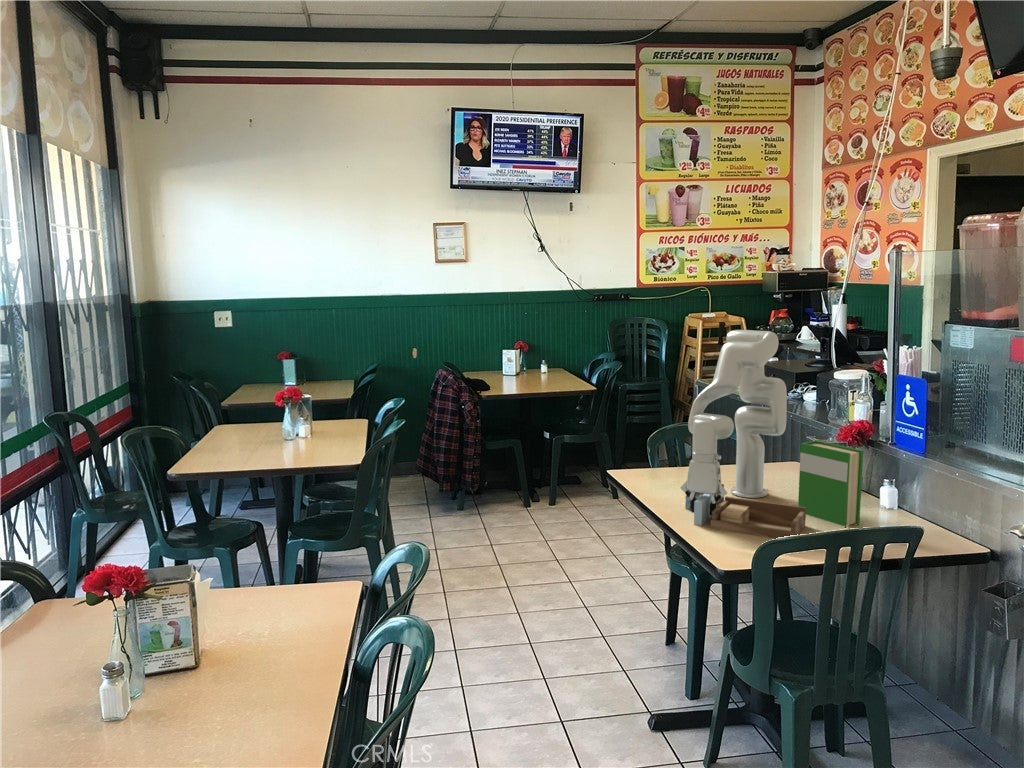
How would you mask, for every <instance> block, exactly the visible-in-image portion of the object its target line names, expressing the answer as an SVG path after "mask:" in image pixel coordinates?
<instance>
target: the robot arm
mask: <svg viewBox="0 0 1024 768" xmlns="http://www.w3.org/2000/svg"><path fill="white" fill-rule="evenodd" d="M779 342H780V341H779V337H778V335H777V333H775V332H773V331H770V330H755V329H754V330H752V329H751V330H750V329H733V330H730V331H729V332H727V334H726V343H724V344H723V345H722V346H721V349H720V352H719V354H718V355H719V356H718V359H717V363H716V366H715V372H714V375H713V379H712V382H710V384H709V385H707V386H706V387H705V388H703V389H702V391H700V393H699V394H698V395H697V396H696V398H695V399H694V400H693V402H692V406H691V409H690V412H689V417H688V422H687V428H688V431H689V433H691V434H692V449H691V450H692V452H691V454H692V455H691V456H692V457H691V458H692V459H691V460H689V464H688V470H687V479H686V481H685V482H684V483H683V484H682V485H681V486H680V489H681V491H683V493H684V494H685V496H688V497H689V500H690V509H692V510H690V511H691V513H692V514H694V501H696V500H697V499H696V494H697V492H698V493H705V494H710V498H711V503H710V515H712V511H713V510H714V509H716V508H717V505H716V502H717V501H718V500H719V499H721V498H722V497H723V496H724V497H726V496H727V494H728V492H727V490H726V488H725V486H724V487H723V486H722V485H721V484H722V471H721V466H720V465H721V464H720V461H721V459H722V455H720V454H718V452H717V451H718V440H724V439H728V438H729V437H730V436H732V434H733V432H734V429H735V431H736V456H735V486H733V487H732V488H730V492H731V493H730V494H732V495H733V496H736V495H737V496H736V497H740V498H745V499H746V498H749V499H759V498H763V497H766V496H768V493H769V491H768V489H766V488H764V477H765V476H764V474H765V473H764V472H765V471H764V470H765V469H764V468H765V443H764V440H763V439H762V437H761V436H760V435H763V436H771V437H778V436H781V435H783V434H784V433H785V431H786V429H787V428H786V427H787V419H788V418H787V416H788V415H787V412H788V411H787V406H788V401H787V400H788V399H787V398H788V395H787V394H788V392H787V385H786V383H785V381H784V380H783V379H781V378H778V377H773V376H772V377H770V376H766V374H765V365H767V363H768V362H769V361H770V360H771V359H772V358H773V357H774V356H775V355H776V353H777V351H778V348H779ZM737 391H739V393H738V394H739V395H738V396H739V398H740V400H741V401H743V402H745V403H749V404H757V405H768V406H769V407H766V406H765V407H764V406H756V405H744V406H740V407H738V409H737V410H736V411H735V414H734V420H733V418H731V417H729V416H727V415H723V414H714V413H707V412H705V409H706V408H707V406H708V405H710V403H712V402H714V401H715V400H718V399H720V398H722V397H725V396H729V395H731V394H733V393H736V392H737ZM718 491H720V492H721V494H719V495H718V496H717V492H718Z"/></svg>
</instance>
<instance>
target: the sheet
mask: <svg viewBox="0 0 1024 768" xmlns="http://www.w3.org/2000/svg"><path fill="white" fill-rule="evenodd" d="M710 503H711V498H710V494H705V493H704V494H703V495H702V496H701V497H699V498H698V499H697V500H696V501H694V513H693V525H695V526H703V525H704V524H705V523H707V522H708V520H709V519H710V518H712V515H710Z"/></svg>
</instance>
